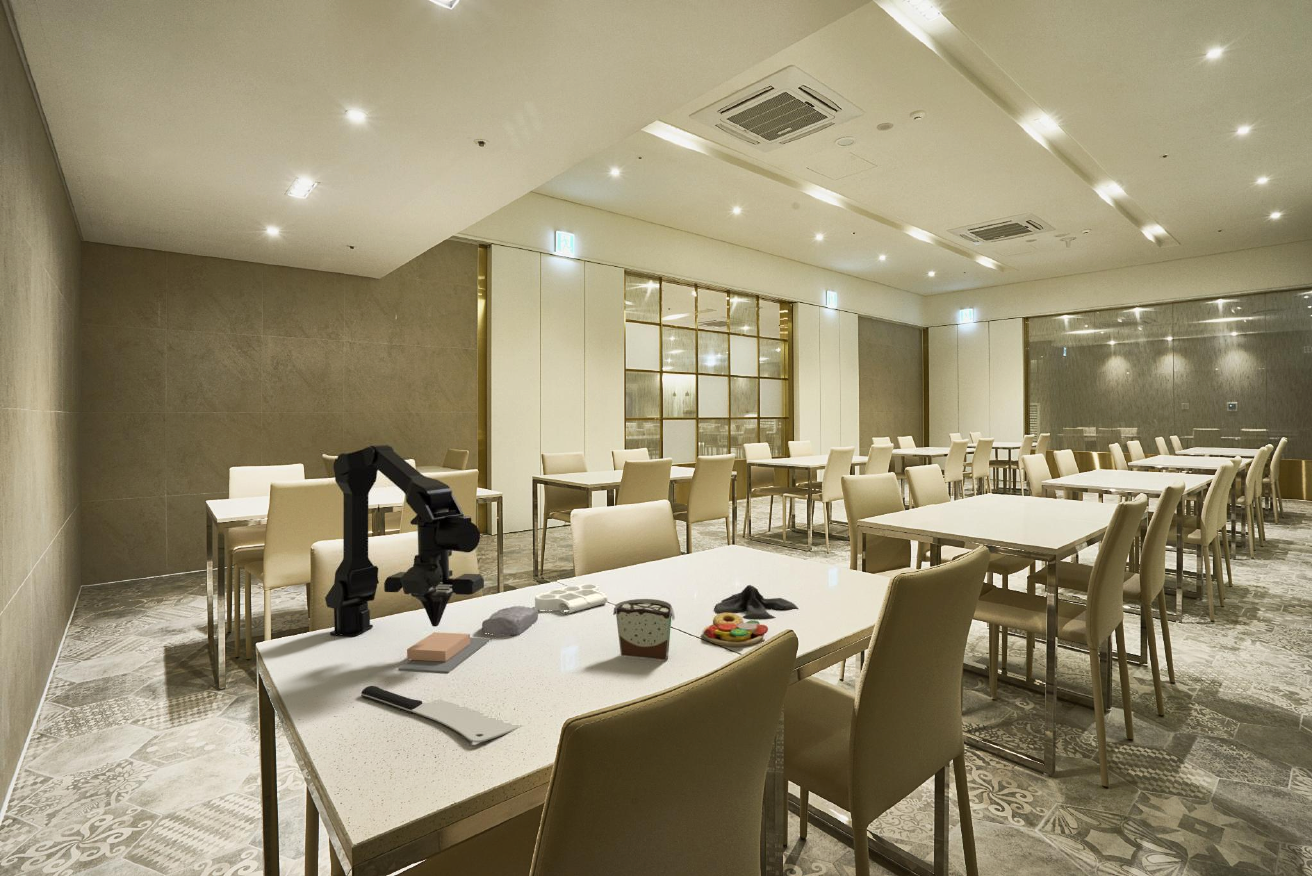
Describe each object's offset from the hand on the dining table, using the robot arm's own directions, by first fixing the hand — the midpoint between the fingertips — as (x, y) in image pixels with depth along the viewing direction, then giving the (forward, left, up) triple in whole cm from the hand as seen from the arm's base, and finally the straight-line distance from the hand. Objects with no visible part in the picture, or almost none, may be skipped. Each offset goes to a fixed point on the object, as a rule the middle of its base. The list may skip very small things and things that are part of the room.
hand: (435, 626), depth 128 cm
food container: (+42, +6, -6) cm, 43 cm away
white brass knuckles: (+16, +37, -6) cm, 41 cm away
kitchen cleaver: (+13, -23, -6) cm, 28 cm away
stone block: (+8, +18, -6) cm, 20 cm away
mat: (+2, 0, -6) cm, 6 cm away
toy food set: (+58, +18, -6) cm, 61 cm away
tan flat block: (-3, 0, -4) cm, 5 cm away
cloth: (+60, +40, -6) cm, 72 cm away
